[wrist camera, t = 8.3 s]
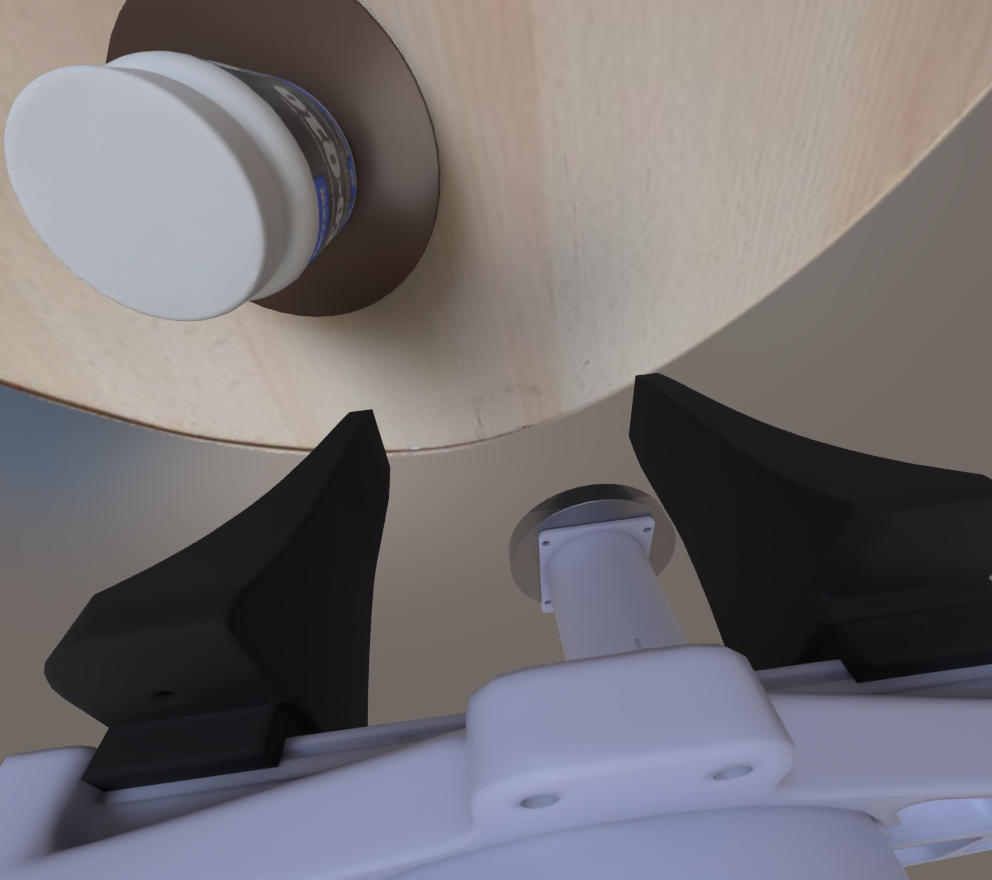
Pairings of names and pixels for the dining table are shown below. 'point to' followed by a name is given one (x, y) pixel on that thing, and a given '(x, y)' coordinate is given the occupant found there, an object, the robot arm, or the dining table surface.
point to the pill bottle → (179, 179)
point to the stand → (353, 104)
